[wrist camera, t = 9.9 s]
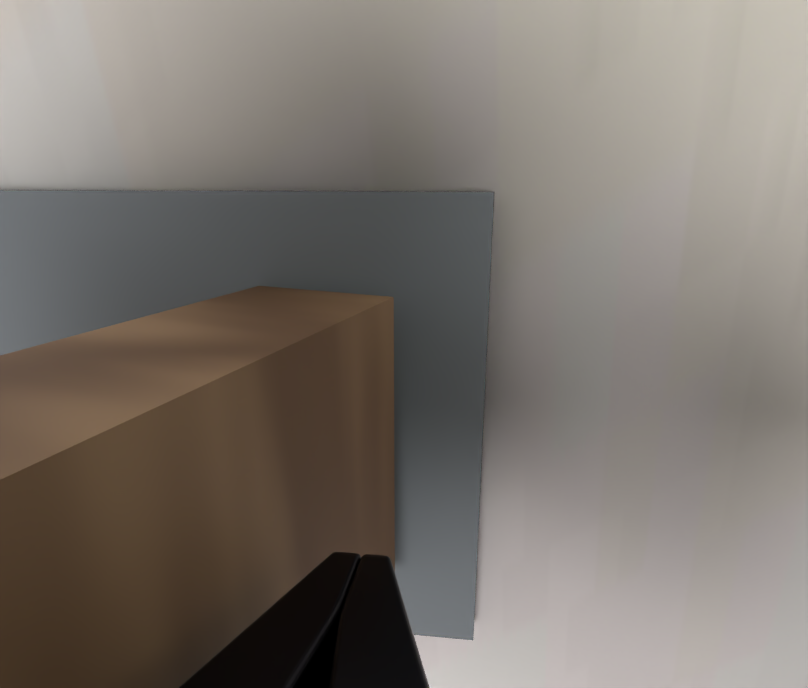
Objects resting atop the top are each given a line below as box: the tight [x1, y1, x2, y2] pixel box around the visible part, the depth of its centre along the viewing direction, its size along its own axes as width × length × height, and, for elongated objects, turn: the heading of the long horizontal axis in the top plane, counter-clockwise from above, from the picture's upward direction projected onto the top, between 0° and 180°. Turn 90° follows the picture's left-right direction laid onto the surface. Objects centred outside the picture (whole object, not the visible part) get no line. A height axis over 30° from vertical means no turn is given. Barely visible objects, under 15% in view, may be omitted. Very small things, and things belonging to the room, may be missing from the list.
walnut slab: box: [0, 286, 395, 688], centre depth 9 cm, size 3×7×8 cm, turn 0°
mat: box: [0, 190, 494, 640], centre depth 13 cm, size 14×11×1 cm
